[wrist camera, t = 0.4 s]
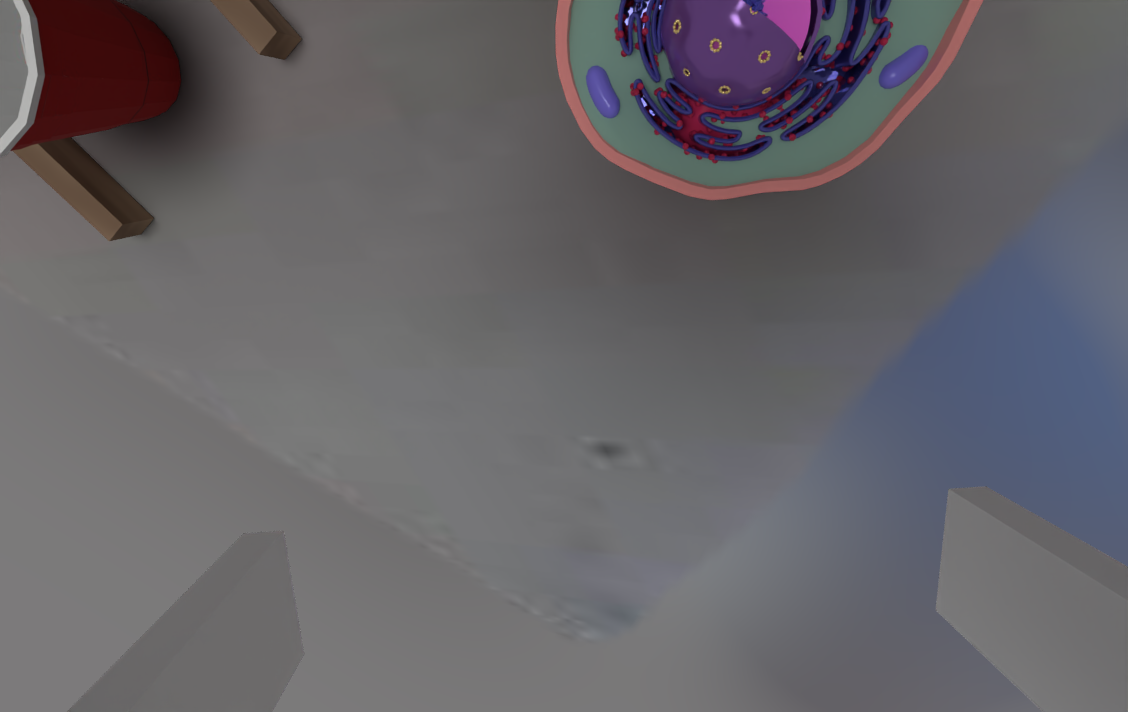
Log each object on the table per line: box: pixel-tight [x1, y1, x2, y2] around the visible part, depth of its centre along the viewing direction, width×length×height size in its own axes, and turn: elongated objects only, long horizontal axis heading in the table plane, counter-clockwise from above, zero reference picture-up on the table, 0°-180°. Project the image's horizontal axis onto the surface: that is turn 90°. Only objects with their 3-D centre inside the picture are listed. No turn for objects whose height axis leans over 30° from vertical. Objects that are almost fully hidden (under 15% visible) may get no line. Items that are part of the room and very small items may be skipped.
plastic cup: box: [0, 0, 181, 157], centre depth 28 cm, size 11×11×12 cm
